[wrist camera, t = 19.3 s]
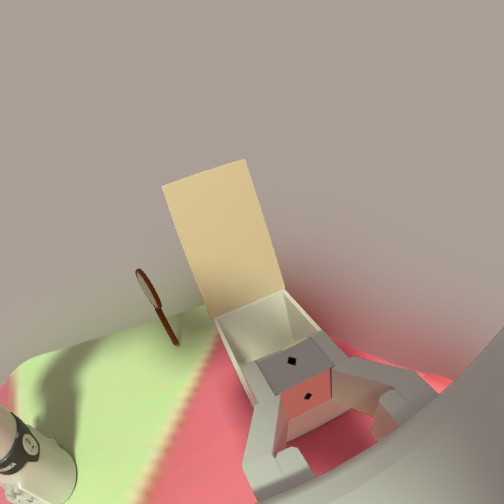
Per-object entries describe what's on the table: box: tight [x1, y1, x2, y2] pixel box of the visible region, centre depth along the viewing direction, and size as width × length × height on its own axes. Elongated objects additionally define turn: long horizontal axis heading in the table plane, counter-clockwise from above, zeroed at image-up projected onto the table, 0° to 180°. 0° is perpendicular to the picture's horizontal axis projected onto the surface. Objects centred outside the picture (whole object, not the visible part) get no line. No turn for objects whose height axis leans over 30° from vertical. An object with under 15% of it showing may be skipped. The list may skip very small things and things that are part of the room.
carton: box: [213, 289, 351, 442], centre depth 43 cm, size 13×20×12 cm, turn 20°
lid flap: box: [162, 159, 285, 318], centre depth 46 cm, size 14×22×1 cm
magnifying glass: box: [136, 269, 179, 347], centre depth 56 cm, size 9×2×20 cm, turn 40°
